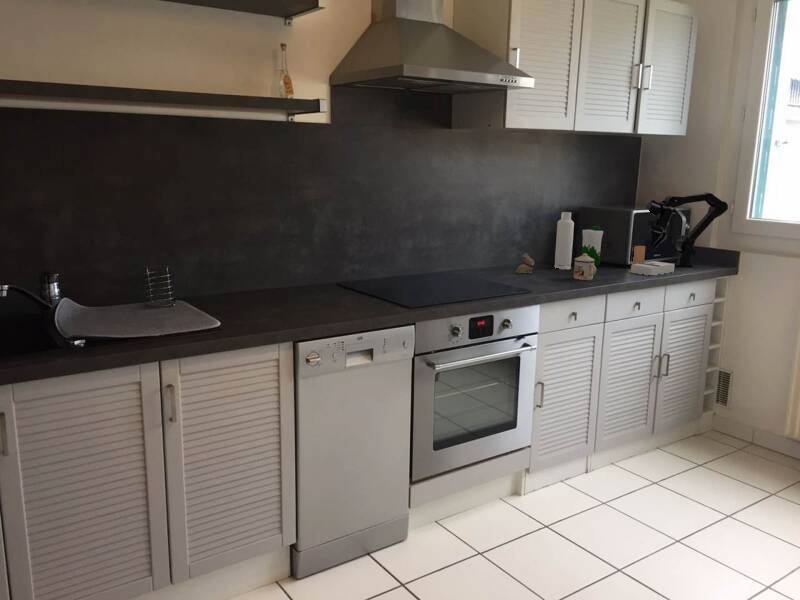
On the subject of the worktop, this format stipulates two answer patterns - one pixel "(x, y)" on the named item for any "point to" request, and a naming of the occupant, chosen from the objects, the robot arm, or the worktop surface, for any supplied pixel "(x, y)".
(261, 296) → the worktop surface
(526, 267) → the chocolate bunny
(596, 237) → the white green tumbler
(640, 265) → the white flat block
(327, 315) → the worktop surface
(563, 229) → the bottle
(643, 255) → the tan upright block
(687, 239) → the robot arm
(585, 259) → the teacup with lid
